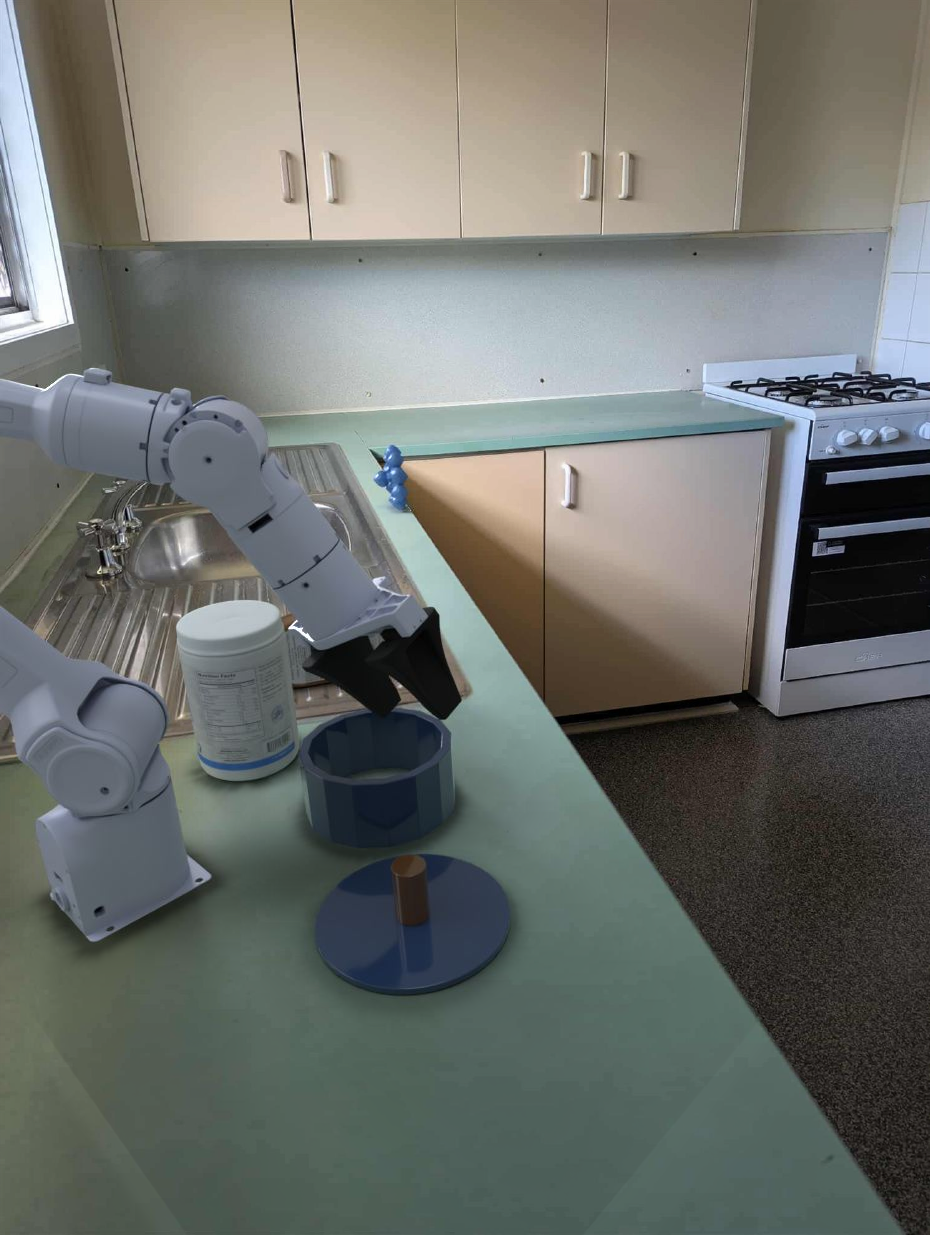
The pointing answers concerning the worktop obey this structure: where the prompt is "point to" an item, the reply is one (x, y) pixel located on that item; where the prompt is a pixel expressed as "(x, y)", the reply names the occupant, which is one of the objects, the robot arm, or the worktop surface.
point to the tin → (306, 656)
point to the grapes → (393, 477)
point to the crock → (378, 805)
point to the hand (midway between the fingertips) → (419, 709)
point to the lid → (412, 924)
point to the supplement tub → (239, 688)
